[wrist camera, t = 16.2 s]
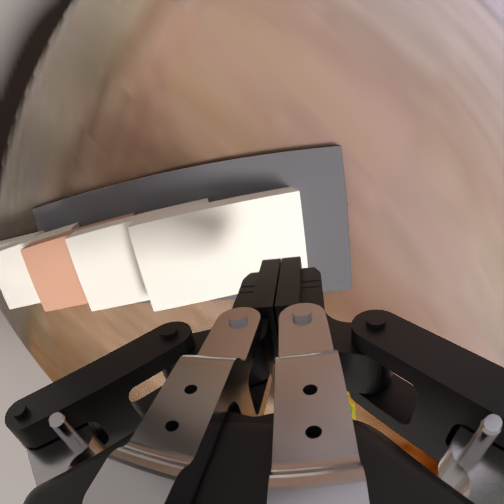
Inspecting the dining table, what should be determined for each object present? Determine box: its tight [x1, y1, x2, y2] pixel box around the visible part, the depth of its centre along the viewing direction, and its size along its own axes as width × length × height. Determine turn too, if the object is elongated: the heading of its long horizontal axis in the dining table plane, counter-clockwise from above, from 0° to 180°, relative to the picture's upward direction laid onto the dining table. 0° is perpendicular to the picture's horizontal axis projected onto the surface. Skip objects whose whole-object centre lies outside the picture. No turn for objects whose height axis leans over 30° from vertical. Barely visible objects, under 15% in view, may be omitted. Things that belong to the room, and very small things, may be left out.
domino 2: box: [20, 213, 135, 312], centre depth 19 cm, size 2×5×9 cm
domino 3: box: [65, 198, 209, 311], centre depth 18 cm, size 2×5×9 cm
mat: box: [32, 146, 351, 304], centre depth 20 cm, size 24×9×1 cm, turn 100°
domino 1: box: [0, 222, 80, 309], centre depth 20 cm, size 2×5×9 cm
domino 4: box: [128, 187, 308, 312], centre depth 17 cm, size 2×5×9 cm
